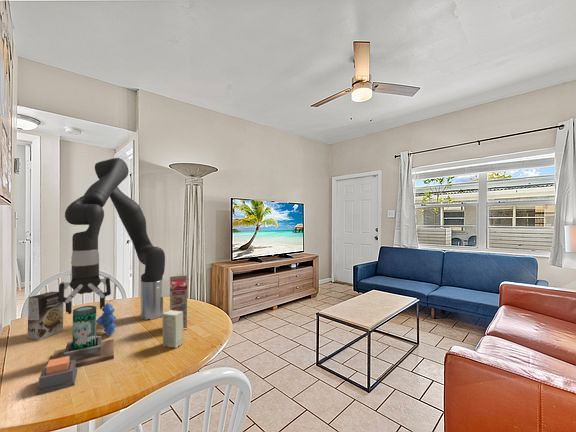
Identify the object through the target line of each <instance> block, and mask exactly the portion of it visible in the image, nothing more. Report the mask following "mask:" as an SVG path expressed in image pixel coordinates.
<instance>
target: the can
mask: <svg viewBox="0 0 576 432" xmlns="http://www.w3.org/2000/svg"><path fill="white" fill-rule="evenodd" d="M96 321H97V306H96V305H84V306H79V307H76V308H74V309H72V341H73V342H72V351H74V350H79V349H84V348H89V347H94V346H96V337H97V322H96Z"/></svg>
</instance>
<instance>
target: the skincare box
mask: <svg viewBox="0 0 576 432" xmlns="http://www.w3.org/2000/svg"><path fill="white" fill-rule="evenodd" d="M161 317H162V346H163V345H164V346H163V347H165V346H169V347H168V348H170V347H177V348H179V347H180V346H182V345H183V344H184V343H185V341H184V330H183V311H175V310H170V309H169V310H167V311H164V312H163V314H162V316H161ZM182 343H183V344H182ZM181 344H182V345H181ZM179 345H180V346H179ZM178 346H179V347H178Z"/></svg>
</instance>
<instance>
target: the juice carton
mask: <svg viewBox="0 0 576 432" xmlns="http://www.w3.org/2000/svg"><path fill="white" fill-rule="evenodd" d="M187 279H188V277H187V275H177V276H176V275H175V276H170V277H169V310H175V311H183V328H188V282H187Z"/></svg>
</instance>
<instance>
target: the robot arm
mask: <svg viewBox="0 0 576 432" xmlns="http://www.w3.org/2000/svg"><path fill="white" fill-rule="evenodd" d="M94 171H95V172H94V173H95V174H96V176H97V178H98V180H96V181H95V182H94V183H93V184H91V185H90V186H89V187H88V189H87V190H86V191H85V192H84V195H82V196H80V197H79V198H77V199H75V200H74V201H72V202H71V203H70V204H69V205H68V206H67V207H66V209H65V212H64V218H65V220H66V222H67V223H69V224H70V225H73V226H85V225H87V226H88V227H87V229H86V230H84V231H79V232H75V233H73V234H72V238H71V242H72V244H71V245H72V248H71V249H72V253H71V261H70V264H71V281H70V282H69V281H67V282H65V281H61V282H60V283H59V285H58V292H59V294H58V302H63V303H64V304H65V313H68V315H71V314H72V313H73V309H72V308H73V307H72V303H73V302H72V299H74V298H75V296H76V295H77V294H78V295H83V294H92V292H94V293H95V294H96V295H97V296H98V297H99V309H100V310H102V308H103V307H104V306H105V305H106V303H105V301H106V300H105V299H106V297H108V296H110V295H111V294H112V292H111V291H112V290H111V289H112V287H111V280H110V277H109V276H107V277H105V278H100V254H99V253H100V252H99V234H100V232H101V228H102V227H101V226H102V224H103V221H104V219H105V218H104V217H105V210H104V208H103V207H104V206H105V205H106V203H107V202H108V199H110V200H111V202H112V205H113V206H114V208H115V211H116V213H117V215H118V217H119V219H120V221H121V223H122V225H123V226H124V228H125V231H126V232H127V234H128V235H127V236H128V237H129V239H130V240H131V242H132V245H133V247H134V251H135V252H136V255H137V258H138V261H139V263H141V264H143V265H145V266H144V273H142V274H141V275H140V319H141V320H145V321H146V320H148V319H150V320H155V319H158V317H159V318H161V317H162V314H163V313H164V296H163V279H164V278H163V276H164V274H165V267H166V266H165V265H166V255H165V251H164V249H163V248H161V247H160V246H154V245H153V244H152V242H151V240H150V238H149V236H148V232H147V221H146V216H145V215H144V212H143V211H142V208H141V206H140V205H139V204H138V203H137V202H136V201H135V200H133V199H132V198H131V197H129V196H128V195H126V194H125V193H124V192H122V190H120V188H119V187H118V186H120V184H121V183H122V182H124V180H125V179H127V177H128V176H129V172H130V171H129V167H128V163H126V162H125V160H123V159H122V158H120V157H113V158H109V159H106V160H102V161H98V162H96V163H95V164H94ZM101 283H102V284H103V285H105V288H106V291H102V289H101V288H100V287H99V285H100V284H101ZM68 287H70V288H71V289H73V290H72V291H71V292H70V293H69V295H68V296H67V297H66V296H65V290H66V289H68ZM160 316H161V317H160ZM154 318H155V319H154ZM148 321H149V320H148Z"/></svg>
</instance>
